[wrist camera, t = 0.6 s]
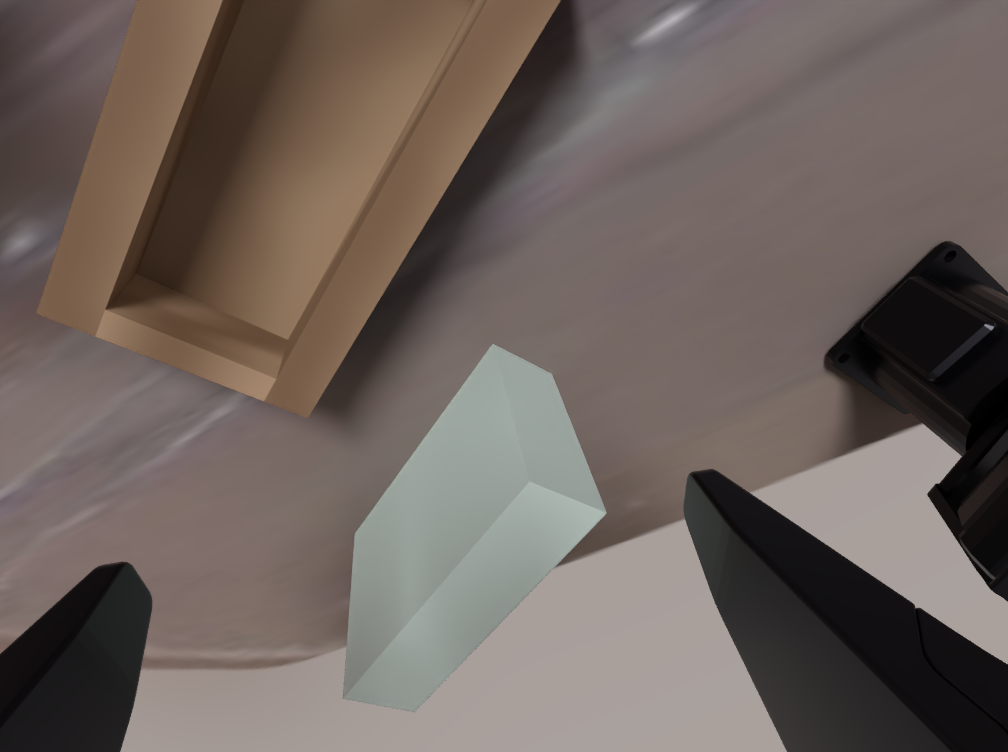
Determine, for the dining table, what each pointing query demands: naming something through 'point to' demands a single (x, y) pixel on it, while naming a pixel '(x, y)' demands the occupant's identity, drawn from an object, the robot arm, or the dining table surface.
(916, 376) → the robot arm
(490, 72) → the wooden tray
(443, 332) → the dining table surface
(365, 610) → the pale green rectangular block
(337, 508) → the dining table surface
